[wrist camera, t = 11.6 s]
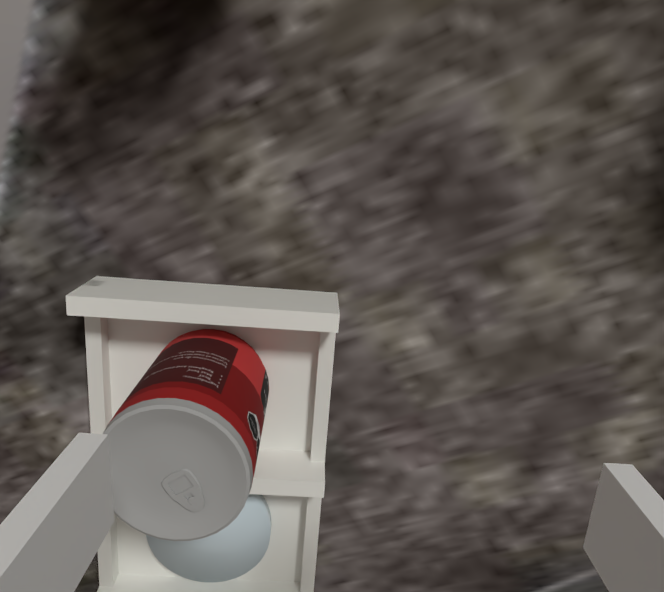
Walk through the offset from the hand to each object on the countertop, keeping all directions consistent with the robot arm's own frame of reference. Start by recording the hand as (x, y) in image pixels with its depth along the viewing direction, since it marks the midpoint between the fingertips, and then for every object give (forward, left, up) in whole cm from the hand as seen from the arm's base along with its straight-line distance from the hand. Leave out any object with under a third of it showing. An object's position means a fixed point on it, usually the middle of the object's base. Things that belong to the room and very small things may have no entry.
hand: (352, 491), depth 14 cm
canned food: (+8, +7, -22) cm, 24 cm away
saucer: (+8, +19, -22) cm, 30 cm away
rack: (+8, +13, -23) cm, 27 cm away
